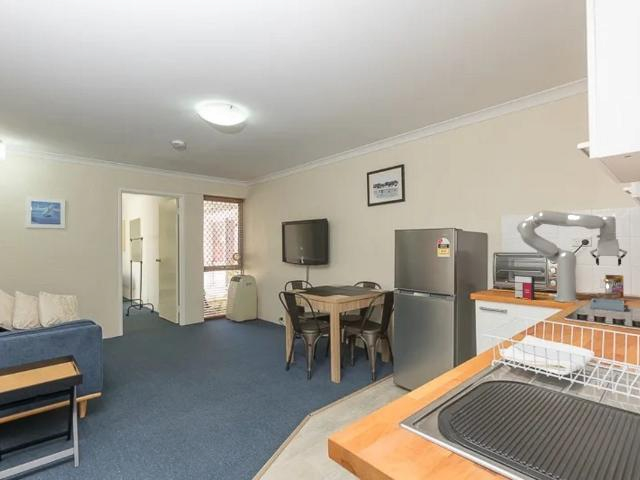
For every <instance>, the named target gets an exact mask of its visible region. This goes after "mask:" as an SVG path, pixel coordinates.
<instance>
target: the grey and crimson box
mask: <svg viewBox="0 0 640 480" xmlns="http://www.w3.org/2000/svg"><path fill="white" fill-rule="evenodd" d="M513 277H514V298H515V297H521V298H528V299H534V300H535V282H536V280H535V279H536V277H535V276H534V275H522V274H521V275H519V274H518V275H514V276H513ZM528 299H527V300H528Z"/></svg>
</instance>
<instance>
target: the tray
mask: <svg viewBox="0 0 640 480" xmlns="http://www.w3.org/2000/svg"><path fill="white" fill-rule="evenodd" d="M589 309H591V310H592V309H593V310H600V311H601V310H602V311H610V312H611V311H613V312H621V313H623V312H624V311H625V300H621V299H620V300H608V299H598V298H591V300H590V302H589Z"/></svg>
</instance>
